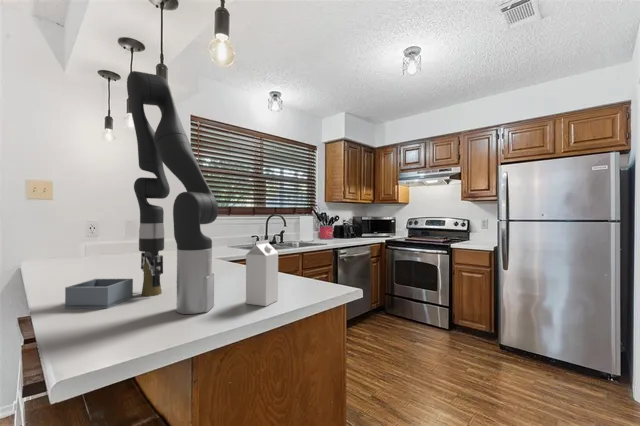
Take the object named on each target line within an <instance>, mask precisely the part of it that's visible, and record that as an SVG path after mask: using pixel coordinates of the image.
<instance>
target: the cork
mask: <svg viewBox="0 0 640 426" xmlns="http://www.w3.org/2000/svg"><path fill="white" fill-rule="evenodd" d="M142 270H144V271H145V274H144V273H143V283H142V289H141V295H140V296H141V297H155V295H156V296H159V294H160V295H162V285H161V283H160V286H159V287H152V273H151V270H149V267H148V263H147V262H146V263H144V265H143V269H142ZM157 271H158V270H157Z"/></svg>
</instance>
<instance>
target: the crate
mask: <svg viewBox="0 0 640 426" xmlns="http://www.w3.org/2000/svg"><path fill="white" fill-rule="evenodd" d="M133 280H134V279H133V278H93V279H90V280H86V281H83V282H80V283H76V284H74V285H69V286H65V288H64V290H65V292H64V293H65V295H64V296H65V297H64V298H65V299H64V300H65V301H64V303H65V304H64V308H65V309H67V310H68V309H69V310H70V309H71V310H72V309H78V310H79V309H95V310H96V309H97V310H98V309H103V310H104V309H106V310H107V308H108V309H109V308H112V307H115V306H116V304H117V305H119V304H120V303H121V304H122V303H123V302H125V301H127V300H129V299H132V298H133V295H134V294H133V291H134V290H133V289H134V281H133Z"/></svg>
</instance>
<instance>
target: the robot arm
mask: <svg viewBox="0 0 640 426" xmlns="http://www.w3.org/2000/svg"><path fill="white" fill-rule="evenodd" d="M126 78H127V79H126V91H127V92H126V93H127V97H128V101H129V106H130V112H131V117H132V121H133V126H134V130H135V136H136V143H137V158H138V167H139V170H142V171H145V172H149V173H151V174H153V175H155V177H138V178H136V179H135V181H134V183H133V190H134V193H135V196H136V198H137V199H136V200H137V204H138V209H139V226H138V227H139V229H138V251H139V252H141V256H140V259H141V261H140V270H142V272H143V275H144V274H145V271H144V270H143V265H144V263H146V262H147V263H148V267H149V270H151V273H152V287H159V286H160V284H161V275H163V274H164V255H160V253H159V252H161V251H164V249H165V226H164V225H165V224H164V217H165V216H164V215H165V214H164V208H163V207H162V206H160V205H156V204H155V205H154V204H152V203H150V202H149V201H148V199H151V200H152V199H159V200H160V199H162V200H164V199H166V198H168V196H169V195H170V192H171V191H170V190H171V189H170V184H169V182H168V181H169V180H168V179H167V176H166V173H165V170H164V166H166V168H167V169H168V170H169V171H170V172H171V173H172V174H173V175H174V176H175V177H176V178H177V179H178V180H179V182H180V183H181V184H182V185H183V187H184V188H185V190H186V191H183V192H180V193H178V195H177V196H176V197H175V199H174V202H173V205H172V216H173V217H172V221H173V235H174V240H175V243H176V313H179V314H180V315H181V314H183V315H184V314H186V315H195V314H201V313H208V312H209V311H210V310H211V309H213V307H215V273H213V265H212V264H213V241H212V238H211V237H209V236H207V235H205V234H204V233H203V232H202V230H201V225H208V224H211V223H213V222H215V220H216V219H217V217H218V214H219V206H218V205H219V204H218V203H217V199H216V197H215V195H214V193H213V192H212V190H211V188H210V186H209V184H208V183H207V181H206V179H205V177H204V175H203V172H202V170H201V167H200V165H199V163H198V161H197V159H196V157H195V154H194V152H193V151H194V150H193V148H192V146H191V143H190V141H189V138H188V136H187V133H186V130H185V128H184V126H183V125H182V122H181V119H180V117H179V113H178V111H177V108H176V105H175V104H176V103H175V101H174V97H173V94H172V91H171V87H170V85H169V82H168V80H167V79H166V78H165V77H163V76H162V75H159V74H153V73H148V72H142V71H136V70H132V71H130V72H129V74H128V75H127V77H126ZM144 105H146V106H156V107H158V108H159V111H160V114H161V117H160V120H159V123H158V124H157V127H156V129H155V130H154V129H153V127H152V126H151V124H150V123H149V120H148V118H147V116H146V112H145V109H144V108H145V107H144ZM157 270H158V271H157Z"/></svg>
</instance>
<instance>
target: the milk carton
mask: <svg viewBox="0 0 640 426" xmlns="http://www.w3.org/2000/svg"><path fill="white" fill-rule="evenodd" d="M278 252H279V251H277V250H276V249H275V247H273V246H272V245H271V244H270V240H269V239H264V240H263V239H262V240H258V241H255V245H254V246H253V247H251V249H250V250H249V251H248V252H247V253H246V254H245V262H246V263H245V304H247V305H254V306H263V307H267V306H269V305H271V304H273V303H275V302H277V301H278V300H279V253H278Z"/></svg>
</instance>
